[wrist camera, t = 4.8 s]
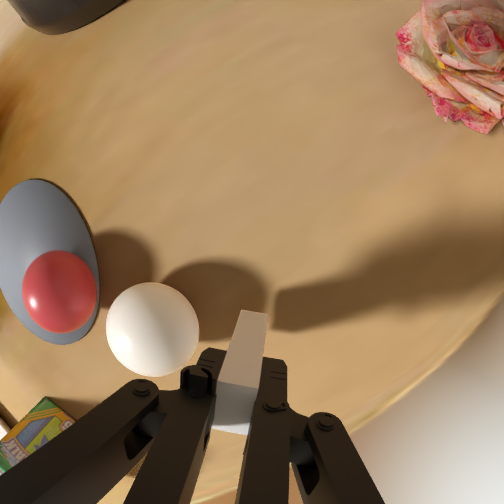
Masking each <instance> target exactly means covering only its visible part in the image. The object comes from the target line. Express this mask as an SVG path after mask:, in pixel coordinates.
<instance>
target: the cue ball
mask: <svg viewBox="0 0 504 504" xmlns="http://www.w3.org/2000/svg"><path fill="white" fill-rule="evenodd" d="M106 334H107V340H108V343H109V346H110V348H111V350H112V352H113V354H114V355H115V356H116V358H117V359H118V360H119V361H120V362H121V363H122V364H123V365H124V366H125V367H127V368H128V369H130V370H131V371H133V372H135V373H138V374H140V375H144V376H150V377H159V376H165V375H169V374H172V373H174V372H176V371H178V370H179V369H181V368H182V367H183V366H184V365H185V364H186V363H187V362H188V361H189V360H190V359H191V357H192V356H193V354H194V352H195V350H196V347H197V344H198V340H199V324H198V319H197V316H196V313H195V311H194V309H193V307H192V305H191V304H190V302H189V301H188V300H187V299H186V298H185V297H184V296H183V295H182V294H181V293H180V292H179V291H177V290H175V289H174V288H172V287H170V286H167V285H164V284H161V283H154V282H147V283H141V284H137V285H134V286H132V287H130V288H128V289H126V290H125V291H123V292H122V293H121V294H120V295H119V296H118V297H117V298H116V299H115V300H114V302H113V304H112V305H111V307H110V310H109V312H108V315H107V320H106Z"/></svg>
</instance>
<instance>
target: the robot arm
mask: <svg viewBox="0 0 504 504" xmlns="http://www.w3.org/2000/svg"><path fill="white" fill-rule="evenodd" d="M122 1H123V0H8V2H9V3H10V4H11V5H12V7H13V8H14V9H15V10H16V12H17V13H18V14H19V15H20V16H21V18H22V20H23V22H24V23H25V24H26V25H28V26H29V27H31V28H33V29H35V30H37V31H39V32H41V33H44V34H47V35H57V34H62V33H66V32H69V31H72V30H75V29H77V28H79V27H81V26H84V25H86V24H88V23H89V22H91V21H93V20H95V19H96V18H98V17H100V16H101V15H103V14H105V13H106V12H108V11H109V10H111V9H112V8H114V7H115V6H117V5H118V4H119V3H121V2H122ZM267 319H268V314H265V313H259V312H254V311H248V310H242V309H241V312H240V315H239V318H238V321H237V324H236V327H235V330H234V333H233V336H232V338H231V341H230V344H229V347H228V350H227V351H224V350H219V349H215V348H210V347H209V348H207V349H206V350H204V351H203V352H202V353H201V355H200V357H199V360H198V362H197V364H196V365H191V366H187V367H185V368H183V369H182V370H181V376H180V389H178V390H171V391H166V390H159V389H158V387H157V385H156V384H155V383H153V382H152V381H149V380H146V379H135V380H132V381H130V382H128V383H127V384H125V385H124V386H123V387H121V388H120V389H119V390H117V391H116V392H115V393H113V394H112V395H111V396H110V397H108V398H107V399H106V400H104V401H103V402H102V403H100V404H99V405H98V406H96V407H95V408H94V409H92V410H91V411H90V412H88V413H87V414H86V415H84V416H83V417H81V418H80V419H79V420H77V421H76V422H75V423H73V424H72V425H71V426H69V427H68V428H67V429H65V430H64V431H62V432H61V433H60V434H58V435H57V436H56V437H54V438H53V439H51V440H50V441H49V442H47V443H46V444H44V445H43V446H42V447H40V448H39V449H37V450H36V451H35V452H33V453H32V454H30V455H29V456H27V457H26V458H25V459H23V460H22V461H20V462H19V463H17V464H16V465H15V466H13V467H12V468H10V469H9V470H7V471H6V472H4V473H3V474H1V475H0V504H97V503H98V502H99V501H100V500H101V499H102V498H103V497H104V496H105V495H106V494H107V493H108V492H109V491H110V490H111V489H112V488H113V487H114V486H115V485H116V484H117V483H118V482H119V481H120V480H121V479H122V478H123V477H124V476H125V475H126V474H127V473H128V472H129V471H130V470H131V469H132V468H133V467H134V466H135V465H136V464H137V463H138V462H139V461H140V459H141V458H142V457H143V456H144V455H145V454H146V453H147V452H148V451H149V452H148V454H147V456H146V458H145V460H144V462H143V464H142V466H141V468H140V470H139V472H138V474H137V476H136V478H135V480H134V482H133V485H132V487H131V489H130V491H129V493H128V495H127V497H126V499H125V501H124V503H123V504H190V501H191V498H192V495H193V492H194V488H195V485H196V482H197V478H198V475H199V472H200V469H201V465H202V462H203V459H204V455H205V452H206V449H207V445H208V442H209V439H210V430H211V427H212V429H217V430H222V431H227V432H232V433H237V434H243V435H247V440H246V444H245V448H244V453H243V455H244V456H243V461H242V467H241V473H240V478H239V484H238V489H237V494H236V501H235V504H288V495H289V462H291V465H292V468H293V471H294V475H295V478H296V481H297V484H298V488H299V491H300V494H301V497H302V500H303V503H304V504H385V503H384V501H383V499H382V497H381V495H380V493H379V491H378V490H377V488H376V486H375V484H374V482H373V480H372V478H371V476H370V475H369V473H368V471H367V469H366V467H365V465H364V463H363V461H362V460H361V458H360V456H359V454H358V452H357V450H356V448H355V447H354V444H353V443H352V441H351V439H350V437H349V435H348V433H347V431H346V429H345V427H344V426H343V424H342V422H341V421H340V419H339V418H338V417H336V416H335V415H333V414H330V413H327V412H319V413H314V414H313V415H311V416H310V418H309V417H306V416H303V415H301V414H298V413H296V412H295V411H293V410H292V409H291V408H290V406H289V404H288V402H287V366H286V364H285V362H284V361H283V360H280V359H274V358H267V357H263V351H264V343H265V335H266V327H267Z"/></svg>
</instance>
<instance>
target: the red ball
mask: <svg viewBox="0 0 504 504" xmlns="http://www.w3.org/2000/svg"><path fill="white" fill-rule="evenodd" d="M22 297H23V302H24V305H25V308H26V310H27V312H28V314H29V315H30V317H31V318H32V319H33V320H34V322H35V323H37V324H38V325H39V326H40V327H42V328H43V329H45V330H47V331H50V332H53V333H69V332H73V331H75V330H77V329H79V328H80V327H82V326H83V325H84V324H85V323H86V322H87V321H88V320H89V318H90V317H91V315H92V313H93V311H94V309H95V305H96V300H97V287H96V282H95V278H94V276H93V274H92V272H91V270H90V268H89V267H88V265H87V264H86V263H85V262H84V261H83V260H82V259H81V258H79V257H78V256H77V255H75V254H73V253H71V252H67V251H63V250H52V251H48V252H45V253H43V254H41V255H40V256H38V257H37V258H36V259H34V260H33V261H32V263H31V264H30V265H29V267H28V268H27V270H26V272H25V275H24V278H23V283H22Z"/></svg>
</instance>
